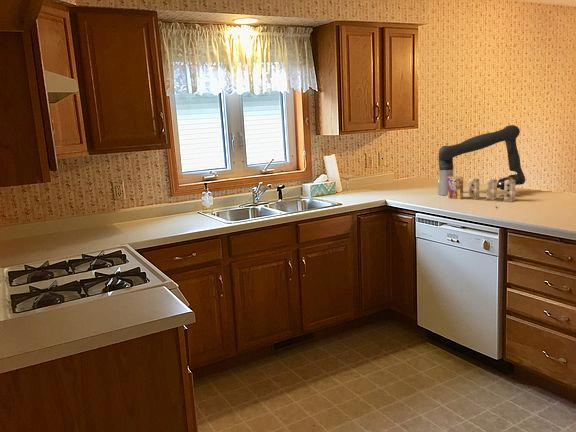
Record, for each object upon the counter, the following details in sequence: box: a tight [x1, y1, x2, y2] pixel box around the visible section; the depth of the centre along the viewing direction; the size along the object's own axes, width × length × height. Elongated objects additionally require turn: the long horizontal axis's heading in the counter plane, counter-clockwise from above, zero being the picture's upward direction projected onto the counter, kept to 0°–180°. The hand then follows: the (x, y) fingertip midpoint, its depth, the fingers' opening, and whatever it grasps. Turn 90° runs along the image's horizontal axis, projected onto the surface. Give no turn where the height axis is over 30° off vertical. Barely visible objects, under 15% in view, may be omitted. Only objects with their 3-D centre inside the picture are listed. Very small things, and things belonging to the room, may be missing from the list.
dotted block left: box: [468, 177, 480, 199], centre depth 310 cm, size 4×5×12 cm
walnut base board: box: [464, 196, 519, 203], centre depth 303 cm, size 30×10×2 cm, turn 44°
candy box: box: [447, 175, 464, 200], centre depth 314 cm, size 9×4×15 cm, turn 39°
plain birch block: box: [485, 178, 498, 200], centre depth 302 cm, size 4×4×12 cm
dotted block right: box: [503, 180, 516, 201], centre depth 294 cm, size 4×5×12 cm
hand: (493, 187), depth 304 cm, fingers closed
